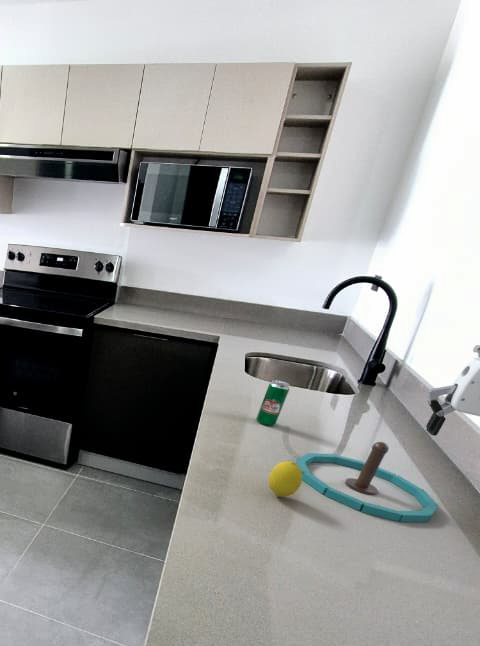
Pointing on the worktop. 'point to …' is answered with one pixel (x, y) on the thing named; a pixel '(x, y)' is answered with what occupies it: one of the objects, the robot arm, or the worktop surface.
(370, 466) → the ring toss
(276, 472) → the lemon
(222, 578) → the worktop surface
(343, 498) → the ring
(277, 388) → the soda can
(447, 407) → the robot arm
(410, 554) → the worktop surface
